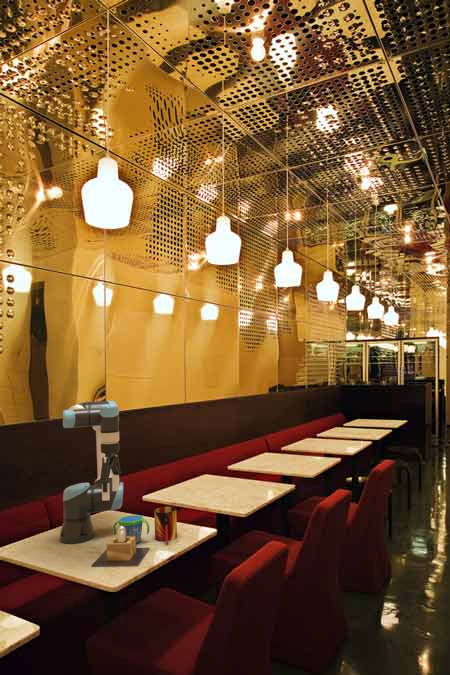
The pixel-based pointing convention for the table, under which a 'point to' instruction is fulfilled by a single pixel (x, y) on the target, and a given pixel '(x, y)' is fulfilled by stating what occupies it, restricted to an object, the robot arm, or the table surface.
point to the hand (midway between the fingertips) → (111, 495)
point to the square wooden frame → (121, 549)
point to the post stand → (132, 562)
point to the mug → (165, 524)
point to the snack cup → (132, 526)
